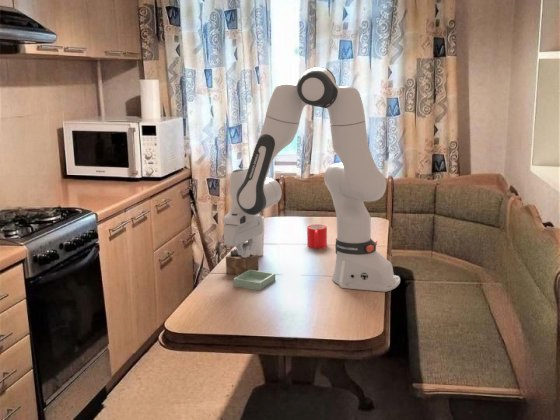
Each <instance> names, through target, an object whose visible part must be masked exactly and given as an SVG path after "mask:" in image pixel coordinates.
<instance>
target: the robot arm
mask: <svg viewBox="0 0 560 420" xmlns="http://www.w3.org/2000/svg"><path fill="white" fill-rule="evenodd" d="M307 105H308V106H310V107H311V106H312V107H318V108H323V109H327V111H328V117H329V125H330V133H331V143H332V147H333V151H334V152H335V153H336V155H337V156H338V158H339V160H340V162H336V163H335V162H334V163H332V164H330V165H329V166H327V168H326V169H325V172H324V175H323V176H324V177H323V181H324V185H325V187H327V189H328V191H329V193H330V195H331V198H332V202H333V207H334V210H335V216H336V238H335V245H334V246H335V247H334V248H335V254H336V258H335V265H334V270H333V274H332V276H331V279H332V282H334V283H336V284H337V285H339V287H340V288H341V289H352V290H361V291H371V292H383V293H385V292H389V291H392V290H394V289H396V288H397V287H399V285H400V283H401V277H400V275H396V274H395V273H394V267H393V264H392V262H390V260H388V259H387V258H386V257H385V256H383V255H382V254H381V253H380V252H379V251H377V245H378V240H376V241H374V240H373V239H372V237H371V235H372V234H371V232H372V231H371V230H372V229H371V228H372V227H371V226H372V224H371V223H372V221H371V220H372V219H371V218H372V217H371V214H370V213H369V212H370V211H368V210H367V208H366V205H365V203H364V202H376V201H379V200H380V199H381V198H382V197H383V196H384V195H385V192H386V190H387V180H386V177H385V175H384V174H383V173H382V172H381V171H380V169H379V168H378V167H377V165H376V164H377V163H376V162H375V160H374V158H373V154H372V152H371V150H370V149H371V148H370V146H369V141H368V140H369V139H368V134H367V125H366V124H367V123H366V115H365V109H364V104H363V100H362V97H361V93H360V92H359V90H358V89H357V88H355V87H353V86H350V85H346V86H345V85H344V86H340V85H338V84H337V80H336V77H335V75H334V74H333V71H331V70H330V69H328V68H326V67H321V66H319V67H318V66H317V67H312V68H310V69H307V70H306V71H305V72H303V74H302V75H301V76H300V77H299V78H298V81H297V83H291V82H290V83H289V82H284V83H280V84H278V85H277V86H275V88H274V90H273V92H272V94H271V97H270V99H269V102H268V105H267V108H266V114H265V118H264V122H263V125H262V128H261V131H260V134H259V137H258V139H257V142H256V145H255V147H254V150H253V153H252V156H251V160H250V162H249V166H248V167H242V168H237V169H234V170H233V171H231V173H230V178H229V194H230V201H231V203H230V210H229V211H228V212H227V214H226V215H224V217H223V218H222V223H223V224H224V227H223V241H224V244H225V246H226V247H229V248H235V249H237V250H238V255H243V254H244V249H243V248H242V246H243V243H244V242H248V243H250V251H251V250H252V245H253V242H254V237H256V236H258V235H260V234H262V232H263V223H262V217H261V216H262V215H261V212H262V211H264V210H266V209H268V208H271V207H272V206H274V205H276V204H278V203H279V202H280V201H281V199H282V196H283V189H282V187H281V184H280V183H279V182H278V180H276V179H275V178H272V177H268V174H269V170H270V168H271V164H272V162H273V160H274V159H275V157H276V156H277V155H278V154H279V153H280V152H281V151H282V150H283V149H285V148H286V147H288V146H289V145H290V144H291V143H292V142H293V141H294V139H295V137H296V134H297V133H298V130H299V125H300V122H301V117H302V114H303V113H302V112H303V110H304V108H305V107H306V106H307Z"/></svg>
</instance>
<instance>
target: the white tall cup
mask: <svg viewBox="0 0 560 420" xmlns="http://www.w3.org/2000/svg"><path fill="white" fill-rule="evenodd" d="M261 217H262V223H263V232H262V234H260V235H258V236H256V237H254V242H253V245H252V250H251V251H250V253H252V254H258V257H260V256H264V245H265V244H264V241H265V217H264V216H263V215H261Z"/></svg>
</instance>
